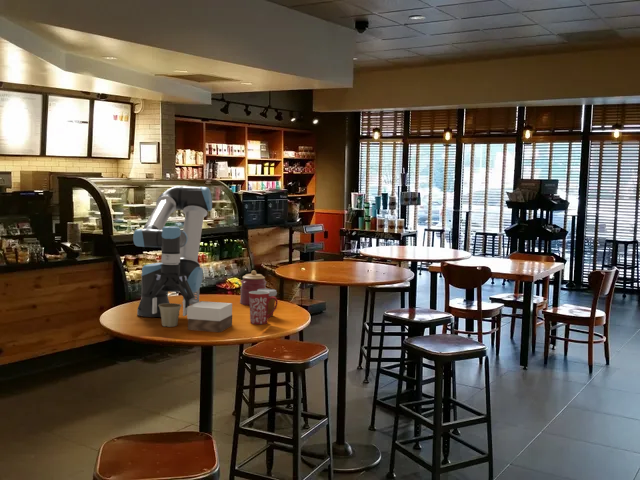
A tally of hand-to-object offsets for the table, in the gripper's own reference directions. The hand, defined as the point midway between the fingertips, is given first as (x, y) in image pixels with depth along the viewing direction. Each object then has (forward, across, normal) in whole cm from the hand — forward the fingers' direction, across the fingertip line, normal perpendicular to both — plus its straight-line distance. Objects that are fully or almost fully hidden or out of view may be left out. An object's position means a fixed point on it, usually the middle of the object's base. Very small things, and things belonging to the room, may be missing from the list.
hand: (169, 314), depth 265 cm
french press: (+4, -13, +52) cm, 54 cm away
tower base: (+5, +17, +2) cm, 18 cm away
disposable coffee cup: (+4, +32, +34) cm, 47 cm away
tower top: (0, +17, +2) cm, 17 cm away
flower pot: (+5, 0, 0) cm, 5 cm away
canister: (+4, +18, +59) cm, 62 cm away
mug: (+5, +35, +18) cm, 40 cm away
